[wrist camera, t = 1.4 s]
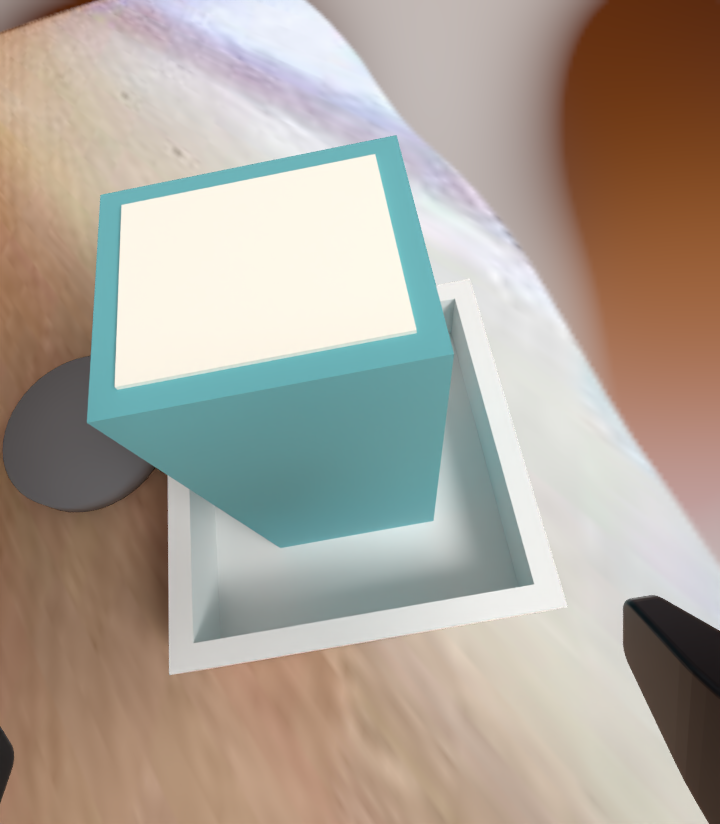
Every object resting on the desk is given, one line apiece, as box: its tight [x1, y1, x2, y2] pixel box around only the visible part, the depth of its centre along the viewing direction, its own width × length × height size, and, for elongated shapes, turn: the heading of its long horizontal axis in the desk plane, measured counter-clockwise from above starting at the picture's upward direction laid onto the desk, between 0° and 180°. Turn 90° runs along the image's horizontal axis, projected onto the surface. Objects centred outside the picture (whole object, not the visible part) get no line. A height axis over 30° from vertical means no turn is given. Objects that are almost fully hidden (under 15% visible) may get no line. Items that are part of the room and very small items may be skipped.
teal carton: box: [87, 135, 454, 548], centre depth 15 cm, size 5×6×13 cm
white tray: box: [168, 279, 568, 675], centre depth 20 cm, size 13×13×3 cm
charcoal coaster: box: [3, 356, 155, 512], centre depth 23 cm, size 7×7×1 cm
